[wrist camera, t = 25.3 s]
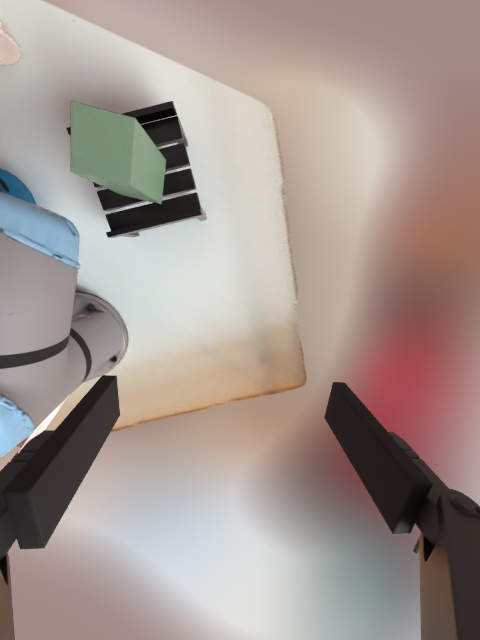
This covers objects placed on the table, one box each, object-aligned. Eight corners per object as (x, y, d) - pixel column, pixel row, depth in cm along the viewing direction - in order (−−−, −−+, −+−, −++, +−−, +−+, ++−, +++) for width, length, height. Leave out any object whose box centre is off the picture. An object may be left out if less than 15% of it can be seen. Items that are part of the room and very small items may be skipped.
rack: (133, 239, 38) (107, 237, 29) (105, 155, 34) (65, 127, 26) (207, 221, 37) (201, 214, 29) (185, 135, 34) (172, 100, 26)
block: (161, 204, 30) (131, 185, 20) (121, 195, 29) (70, 171, 20) (166, 159, 29) (135, 117, 19) (123, 149, 28) (70, 100, 18)
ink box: (34, 424, 47) (-14, 468, 38) (61, 385, 45) (18, 422, 35) (45, 430, 48) (2, 474, 38) (73, 392, 45) (34, 430, 36)
